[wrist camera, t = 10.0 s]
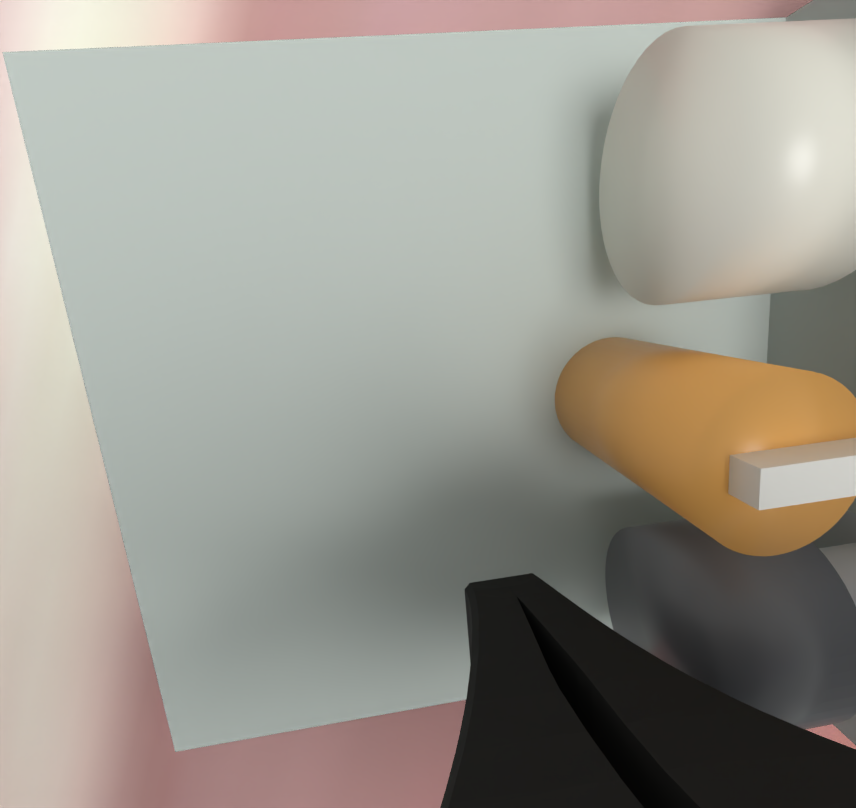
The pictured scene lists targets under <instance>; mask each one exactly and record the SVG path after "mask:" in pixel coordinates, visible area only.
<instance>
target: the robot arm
mask: <svg viewBox="0 0 856 808" xmlns="http://www.w3.org/2000/svg"><path fill="white" fill-rule="evenodd" d="M464 590H465V602H466V615H467V627H468V639H469V651H470V663H471V666H470V674H469V683H468V691H467V698H466V704H465V710H464V716H463V721H462V726H461V731H460V735H459V740H458V745H457V749H456V753H455V757H454V761H453V764H452V768H451V772H450V776H449V780H448V784H447V787H446V791H445V794H444V798H443V801H442V804H441V807H440V808H856V750H855V749H853V748H850V747H848V746H845V745H842V744H840V743H837V742H835V741H832V740H829V739H827V738H824V737H822V736H819V735H817V734H814V733H812V732H810V731H807V730H805V729H803V728H800V727H798V726H795V725H793V724H791V723H788V722H786V721H784V720H781V719H779V718H777V717H774V716H772V715H770V714H767V713H765V712H763V711H760V710H758V709H756V708H754V707H752V706H750V705H747V704H745V703H743V702H741V701H739V700H737V699H735V698H733V697H731V696H729V695H727V694H725V693H723V692H721V691H719V690H717V689H715V688H713V687H711V686H709V685H707V684H705V683H703V682H701V681H699V680H697V679H695V678H693V677H691V676H689V675H687V674H686V673H684V672H682V671H680V670H678V669H677V668H675V667H673V666H671V665H669V664H668V663H666V662H664V661H663V660H661V659H659V658H658V657H656V656H654V655H653V654H651V653H649V652H648V651H646V650H644V649H643V648H641V647H639V646H637V645H636V644H634V643H633V642H631V641H629V640H628V639H626V638H625V637H623V636H622V635H620V634H619V633H617V632H615V631H614V630H612V629H611V628H609V627H608V626H606V625H605V624H603V623H602V622H600V621H599V620H598V619H596V618H595V617H593V616H592V615H590V614H589V613H587V612H586V611H585V610H583V609H582V608H580V607H579V606H577V605H576V604H575V603H573V602H572V601H571V600H569V599H568V598H566V597H565V596H564V595H562V594H561V593H560V592H558V591H557V590H555V589H554V588H553V587H551V586H550V585H549V584H547V583H546V582H544V581H543V580H542V579H540V578H539V577H537V576H536V575H534V574H533V573H530V574H523V575H517V576H510V577H504V578H497V579H491V580H485V581H478V582H472V583H469V584H468V586H467V587H466V588H465V589H464Z"/></svg>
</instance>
